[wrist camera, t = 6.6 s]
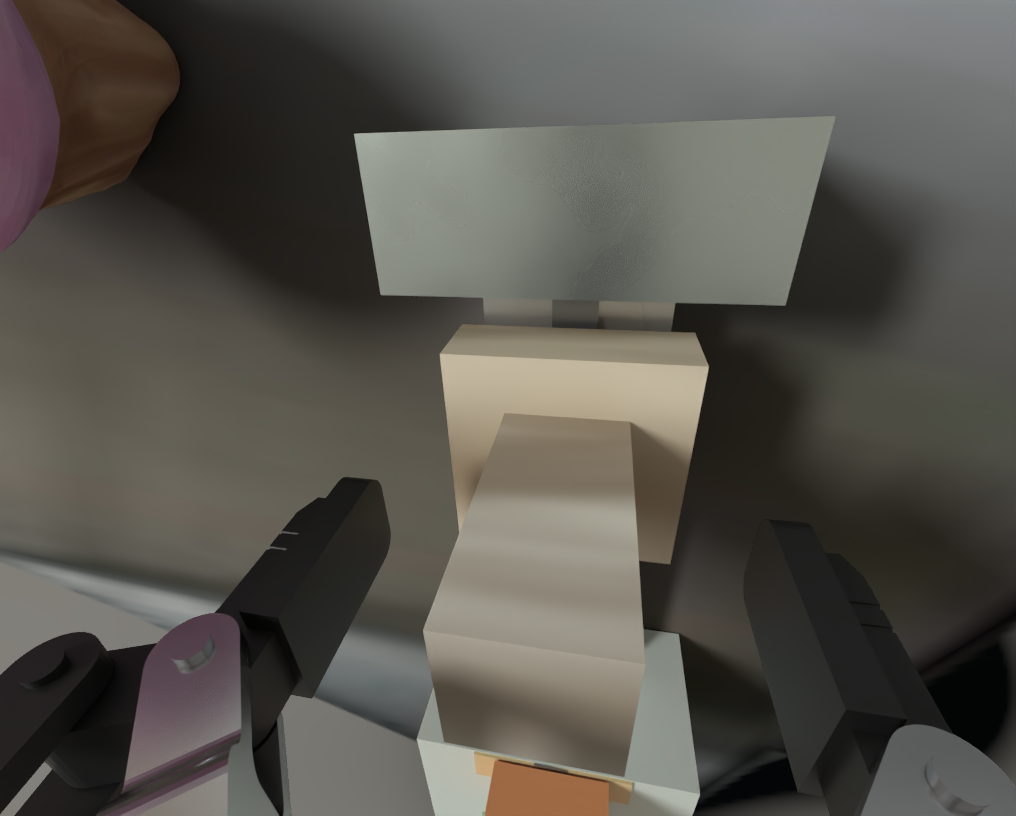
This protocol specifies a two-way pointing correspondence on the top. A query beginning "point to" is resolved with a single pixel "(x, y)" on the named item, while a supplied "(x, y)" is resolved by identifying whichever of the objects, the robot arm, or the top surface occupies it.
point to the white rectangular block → (632, 799)
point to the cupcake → (74, 101)
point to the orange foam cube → (544, 793)
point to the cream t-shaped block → (557, 532)
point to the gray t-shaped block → (593, 216)
